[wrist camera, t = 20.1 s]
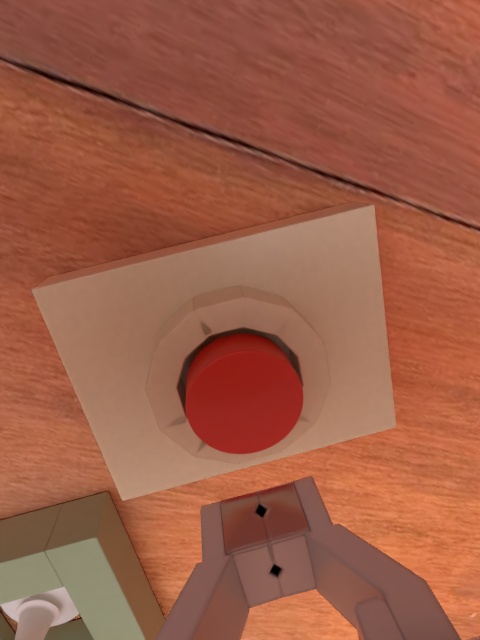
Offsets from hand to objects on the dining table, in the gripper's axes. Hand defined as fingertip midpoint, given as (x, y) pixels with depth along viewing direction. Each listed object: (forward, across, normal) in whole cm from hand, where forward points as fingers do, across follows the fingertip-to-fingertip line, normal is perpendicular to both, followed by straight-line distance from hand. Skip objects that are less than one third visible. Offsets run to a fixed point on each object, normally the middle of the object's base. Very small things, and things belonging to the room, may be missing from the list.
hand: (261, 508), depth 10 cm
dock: (+10, +14, +12) cm, 21 cm away
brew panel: (+10, 0, 0) cm, 10 cm away
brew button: (+6, 0, 0) cm, 6 cm away
